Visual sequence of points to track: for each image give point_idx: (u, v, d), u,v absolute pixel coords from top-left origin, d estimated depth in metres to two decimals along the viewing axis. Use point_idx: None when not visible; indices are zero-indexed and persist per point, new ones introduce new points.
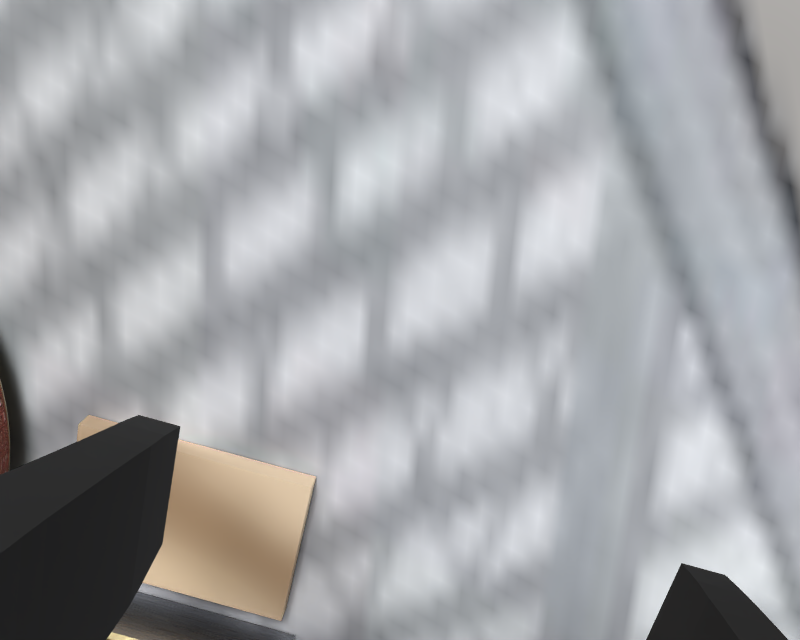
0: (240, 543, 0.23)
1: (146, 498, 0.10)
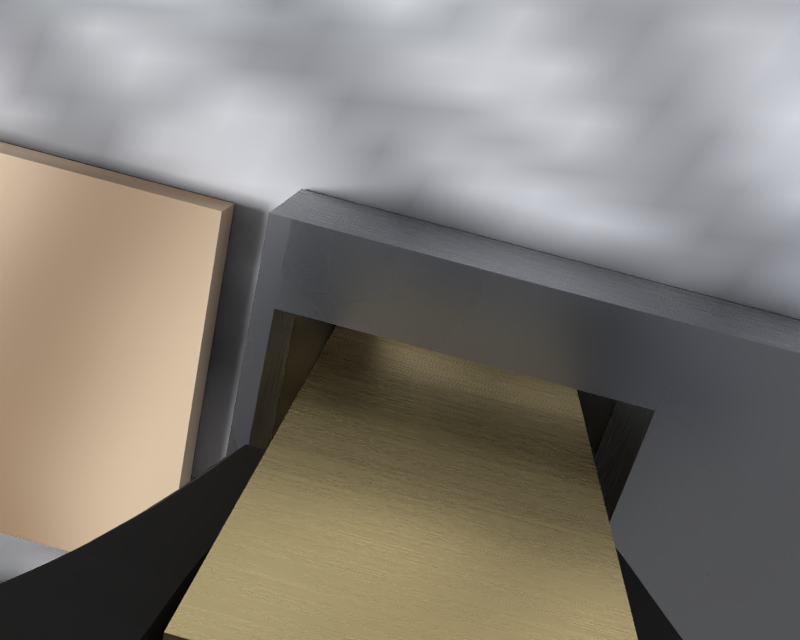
0: (57, 274, 0.12)
1: None
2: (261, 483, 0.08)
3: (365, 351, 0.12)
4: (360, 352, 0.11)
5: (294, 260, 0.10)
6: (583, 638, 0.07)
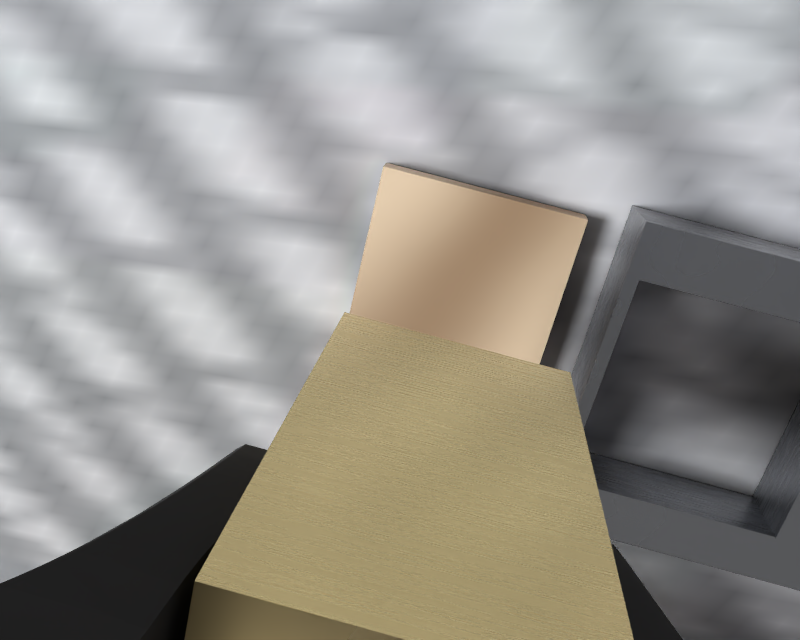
0: (468, 260, 0.18)
1: None
2: (277, 455, 0.08)
3: (370, 338, 0.12)
4: (366, 339, 0.12)
5: (657, 250, 0.17)
6: (573, 593, 0.07)
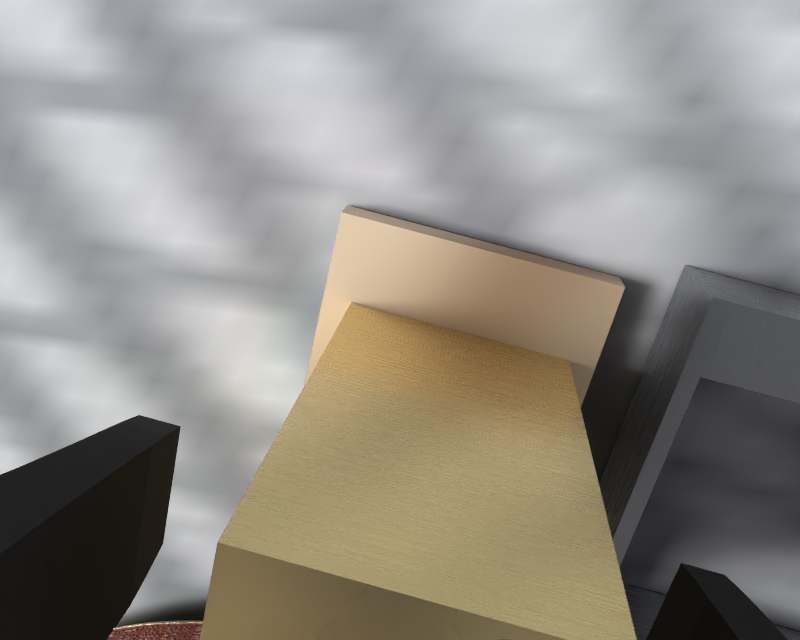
0: None
1: (146, 498, 0.10)
2: (290, 432, 0.09)
3: (376, 327, 0.13)
4: (372, 327, 0.13)
5: (727, 337, 0.12)
6: (570, 559, 0.08)
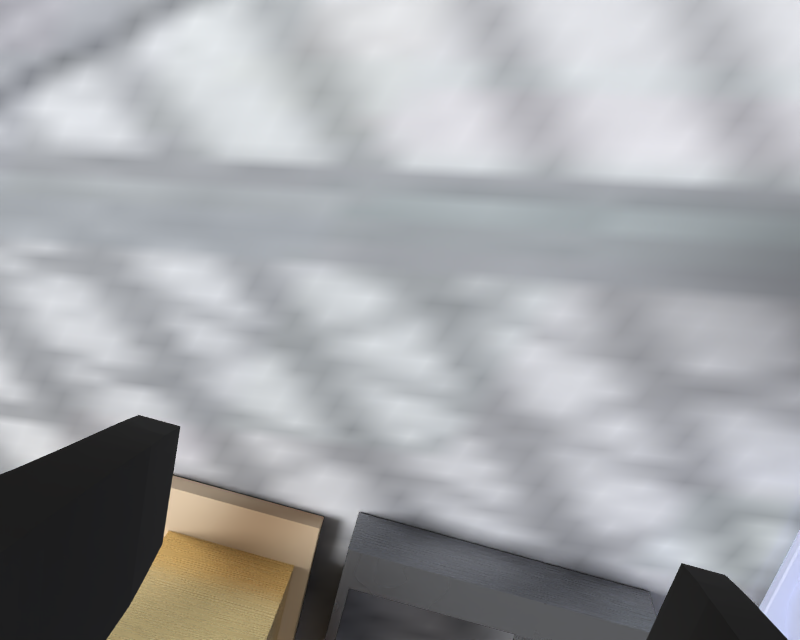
0: None
1: (146, 498, 0.10)
2: None
3: (176, 552, 0.22)
4: (173, 554, 0.22)
5: (359, 568, 0.21)
6: None
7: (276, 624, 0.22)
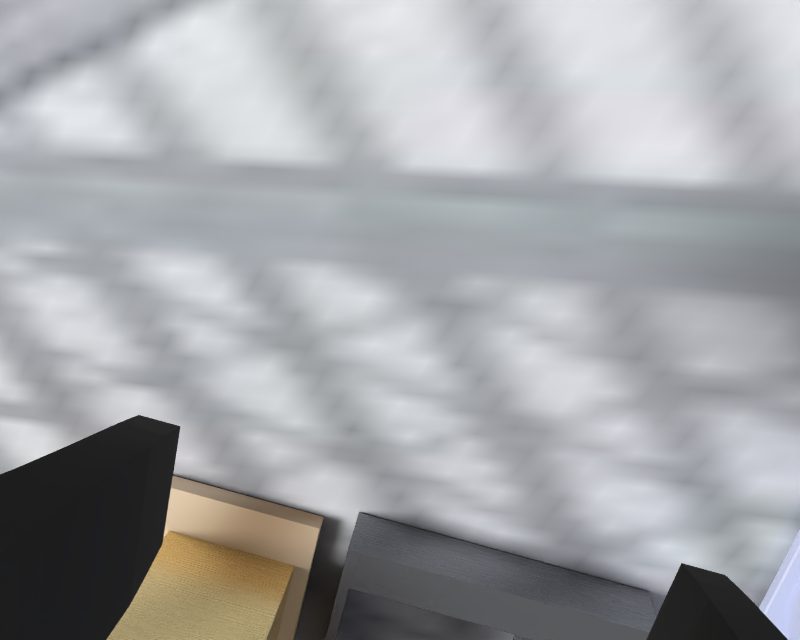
0: None
1: (146, 498, 0.10)
2: None
3: (176, 552, 0.22)
4: (173, 554, 0.22)
5: (359, 569, 0.21)
6: None
7: (276, 624, 0.22)
